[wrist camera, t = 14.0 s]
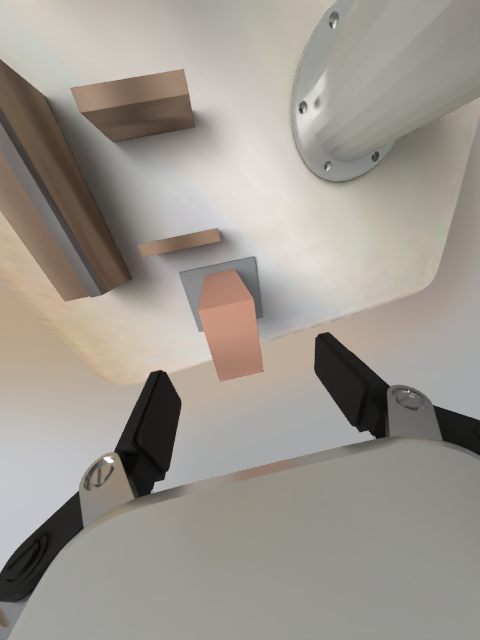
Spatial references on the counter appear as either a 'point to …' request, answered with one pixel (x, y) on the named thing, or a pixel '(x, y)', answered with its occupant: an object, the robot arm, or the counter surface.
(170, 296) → the counter surface
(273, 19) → the counter surface
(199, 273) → the grey mat
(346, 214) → the counter surface
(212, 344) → the salmon pink block
